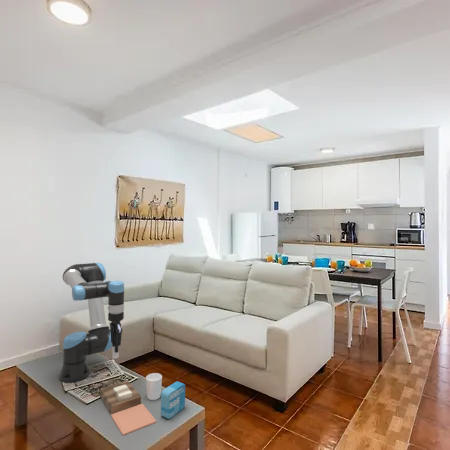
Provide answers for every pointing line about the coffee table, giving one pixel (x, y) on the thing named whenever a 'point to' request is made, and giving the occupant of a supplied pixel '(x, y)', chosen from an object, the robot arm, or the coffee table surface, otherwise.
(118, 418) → the terracotta mat
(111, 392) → the block
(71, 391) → the coffee table surface
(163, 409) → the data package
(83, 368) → the robot arm
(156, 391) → the white cup
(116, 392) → the birch tile
